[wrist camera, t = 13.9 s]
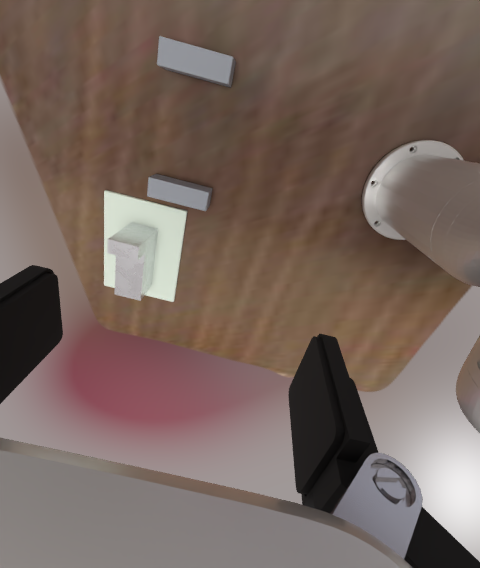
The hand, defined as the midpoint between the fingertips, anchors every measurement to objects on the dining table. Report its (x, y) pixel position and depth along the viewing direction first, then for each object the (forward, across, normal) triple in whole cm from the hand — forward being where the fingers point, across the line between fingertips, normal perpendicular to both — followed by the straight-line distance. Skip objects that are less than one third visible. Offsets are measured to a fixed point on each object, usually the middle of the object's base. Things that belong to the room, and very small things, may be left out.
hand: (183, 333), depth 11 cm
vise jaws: (+33, +8, -4) cm, 34 cm away
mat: (+33, +13, +14) cm, 38 cm away
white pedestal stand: (+33, +13, +14) cm, 38 cm away
